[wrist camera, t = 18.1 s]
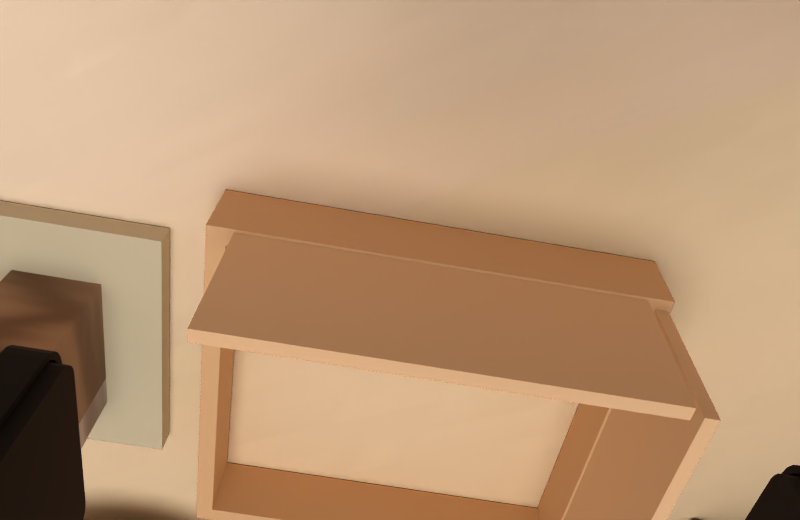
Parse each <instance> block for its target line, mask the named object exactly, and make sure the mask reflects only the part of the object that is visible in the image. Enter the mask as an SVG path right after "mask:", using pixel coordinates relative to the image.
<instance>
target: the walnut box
mask: <svg viewBox="0 0 800 520" xmlns="http://www.w3.org/2000/svg"><path fill="white" fill-rule="evenodd" d="M10 345H17V346H23V347H30V348H36V349H43V350H49V351H55V352H58V353H59V355H60V356H61V360H62V364H65V365H70V366H72V367H73V369H74V375H75V386H76V398H77V410H78V421H79V433H80V445H81V448H82V446H83V445H84V443H85V441H86V439H87V437H88V436H89V434H90V432H91V430H92V428H93V427H94V425H95V423H96V421H97V420H98V418H99V416H100V414H101V412H102V411H103V409H104V407H105V405H106V403H107V388H106V368H105V349H104V329H103V309H102V290H101V284H96V283H90V282H84V281H78V280H71V279H65V278H59V277H53V276H47V275H41V274H34V273H28V272H22V271H16V270H11V271H10V272H9V273H8V274H7V275H6V276H5V277H4V278H3V279H2V280H1V281H0V352H1V351H2V350H4V349H5V348H6V347H7V346H10Z"/></svg>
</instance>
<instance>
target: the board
mask: <svg viewBox="0 0 800 520" xmlns="http://www.w3.org/2000/svg"><path fill="white" fill-rule="evenodd" d="M11 270H16V271H22V272H28V273H34V274H41V275H47V276H53V277H59V278H65V279H71V280H78V281H84V282H90V283H96V284H101V290H102V309H103V329H104V349H105V368H106V388H107V403H106V405H105V407H104V409H103V411H102V412H101V414H100V416H99V418H98V420H97V421H96V423H95V425H94V427H93V428H92V430H91V432H90V434H89V436H88V437H87V439H92V440H99V441H106V442H113V443H119V444H126V445H133V446H140V447H147V448H153V449H160V450H162V449H163V447H164V444H165V442H166V440H167V437H168V435H169V361H170V228H165V227H158V226H152V225H146V224H140V223H134V222H128V221H122V220H116V219H110V218H104V217H98V216H91V215H85V214H79V213H73V212H67V211H61V210H55V209H49V208H43V207H37V206H30V205H24V204H18V203H12V202H6V201H0V281H1V280H2V279H3V278H4V277H5V276H6V275H7V274H8V273H9V272H10V271H11Z"/></svg>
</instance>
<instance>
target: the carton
mask: <svg viewBox="0 0 800 520" xmlns="http://www.w3.org/2000/svg"><path fill="white" fill-rule="evenodd" d="M674 303H675V301H674V299H673V297H672V295H671V293H670V291H669V289H668V287H667V285H666V283H665V281H664V279H663V277H662V275H661V273H660V271H659V269H658V267H657V265H656V263H655V262H654V261H649V260H643V259H637V258H631V257H625V256H619V255H613V254H607V253H601V252H595V251H589V250H583V249H577V248H571V247H565V246H559V245H553V244H547V243H541V242H535V241H529V240H523V239H517V238H511V237H505V236H499V235H493V234H487V233H481V232H476V231H470V230H464V229H458V228H452V227H446V226H440V225H434V224H428V223H422V222H416V221H410V220H404V219H398V218H392V217H386V216H380V215H374V214H368V213H362V212H356V211H350V210H344V209H338V208H332V207H326V206H320V205H314V204H308V203H302V202H297V201H291V200H285V199H279V198H273V197H267V196H261V195H255V194H249V193H243V192H237V191H231V190H225V192H224V194H223V195H222V197H221V199H220V201H219V203H218V204H217V206H216V208H215V210H214V211H213V213H212V215H211V217H210V219H209V220H208V222H207V224H206V240H205V271H204V296H203V298H202V300H201V302H200V304H199V306H198V308H197V310H196V312H195V314H194V316H193V318H192V321H191V323H190V325H189V327H188V334H187V342H189V343H195V344H202V361H201V391H200V421H199V452H198V482H197V512H196V518H202V519H209V520H667V519H668V517H669V515H670V513H671V511H672V510H673V508H674V506H675V504H676V502H677V500H678V499H679V497H680V495H681V493H682V491H683V489H684V487H685V486H686V484H687V482H688V480H689V478H690V476H691V475H692V473H693V471H694V469H695V467H696V465H697V464H698V462H699V460H700V458H701V456H702V454H703V453H704V451H705V449H706V447H707V445H708V443H709V442H710V440H711V438H712V436H713V434H714V432H715V431H716V429H717V427H718V425H719V423H720V421H721V420H720V418H719V416H718V414H717V412H716V410H715V407H714V405H713V403H712V401H711V399H710V397H709V395H708V393H707V391H706V389H705V387H704V385H703V383H702V380H701V378H700V376H699V374H698V372H697V370H696V368H695V366H694V364H693V362H692V360H691V358H690V356H689V354H688V351H687V349H686V347H685V345H684V343H683V341H682V339H681V337H680V335H679V333H678V331H677V329H676V327H675V325H674V322H673V320H672V318H671V316H670V312H671V310H672V308H673V305H674ZM234 350H240V351H247V352H253V353H260V354H266V355H273V356H279V357H285V358H292V359H298V360H305V361H311V362H318V363H324V364H330V365H337V366H343V367H350V368H356V369H362V370H369V371H375V372H382V373H388V374H395V375H401V376H407V377H414V378H420V379H427V380H433V381H440V382H446V383H452V384H459V385H465V386H472V387H478V388H485V389H491V390H497V391H504V392H510V393H517V394H523V395H529V396H536V397H542V398H549V399H555V400H562V401H568V402H574V403H579V406H578V408H577V411H576V413H575V416H574V418H573V421H572V423H571V426H570V428H569V431H568V433H567V436H566V438H565V441H564V443H563V446H562V448H561V451H560V453H559V456H558V458H557V461H556V463H555V466H554V468H553V471H552V474H551V476H550V479H549V481H548V484H547V486H546V489H545V491H544V494H543V496H542V499H541V501H540V504H539V506H538V508H532V507H525V506H518V505H511V504H505V503H498V502H491V501H484V500H477V499H471V498H464V497H457V496H450V495H443V494H437V493H430V492H423V491H416V490H409V489H403V488H396V487H389V486H382V485H375V484H369V483H362V482H355V481H348V480H342V479H335V478H328V477H321V476H314V475H308V474H301V473H294V472H287V471H280V470H274V469H267V468H260V467H253V466H246V465H240V464H233V463H227V458H228V442H229V426H230V410H231V394H232V379H233V363H234Z"/></svg>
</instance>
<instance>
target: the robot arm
mask: <svg viewBox="0 0 800 520" xmlns="http://www.w3.org/2000/svg"><path fill="white" fill-rule="evenodd" d="M84 514H85V492H84V480H83V468H82V457H81V445H80V433H79V421H78V410H77V398H76V386H75V375H74V369H73V367H72V366H70V365H65V364H62V360H61V356H60V355H59V353H58V352H55V351H49V350H43V349H36V348H30V347H23V346H17V345H10V346H7V347H6V348H5V349H4V350H2V351H1V352H0V520H83V518H84ZM745 520H800V466H799V465H792V466H789V467H787V468H786V469H785V470H784V472H783V473H782V474H776V475H774V476H773V477H772V478H771V480H770V481H769V483H768V484H767V486H766V487H765V489H764V491H763V492H762V494H761V495H760V497H759V499H758V500H757V502H756V503H755V505H754V506H753V508H752V510H751V511H750V513H749V514H748V516H747V518H746V519H745Z"/></svg>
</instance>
